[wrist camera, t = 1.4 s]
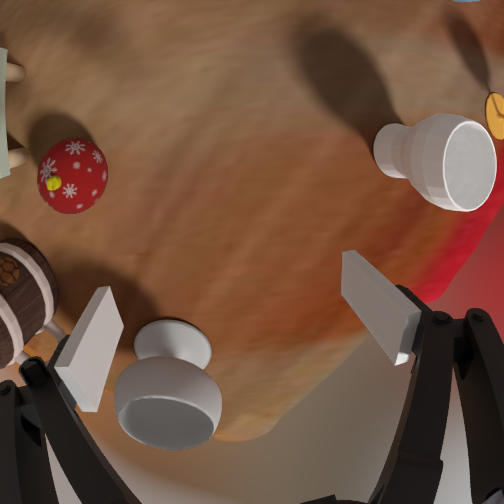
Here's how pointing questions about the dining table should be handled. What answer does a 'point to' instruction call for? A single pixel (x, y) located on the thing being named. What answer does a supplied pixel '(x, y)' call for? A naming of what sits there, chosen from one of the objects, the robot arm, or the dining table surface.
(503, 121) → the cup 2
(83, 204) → the christmas ornament
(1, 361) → the mug
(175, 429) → the chalice
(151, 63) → the dining table surface
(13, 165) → the mint green side table
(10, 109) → the dining table surface
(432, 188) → the cup
